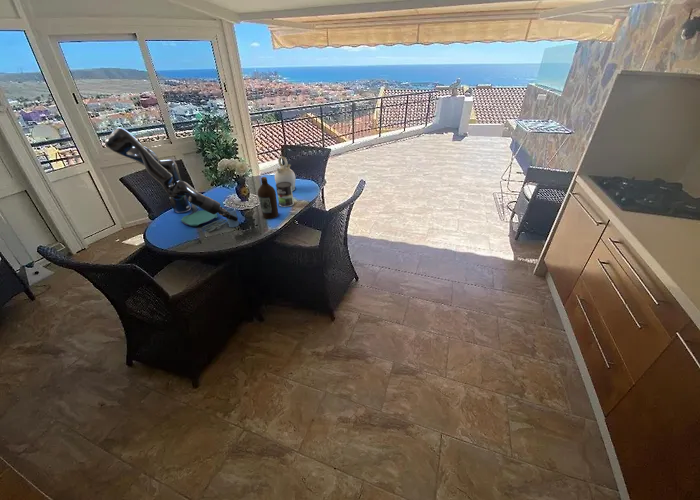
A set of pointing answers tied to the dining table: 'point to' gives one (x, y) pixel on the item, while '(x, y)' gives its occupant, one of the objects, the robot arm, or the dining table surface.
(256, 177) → the dining table surface
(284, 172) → the jug
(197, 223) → the cutlery set
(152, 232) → the dining table surface
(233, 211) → the cup
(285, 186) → the coffee can
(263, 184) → the brown bottle
